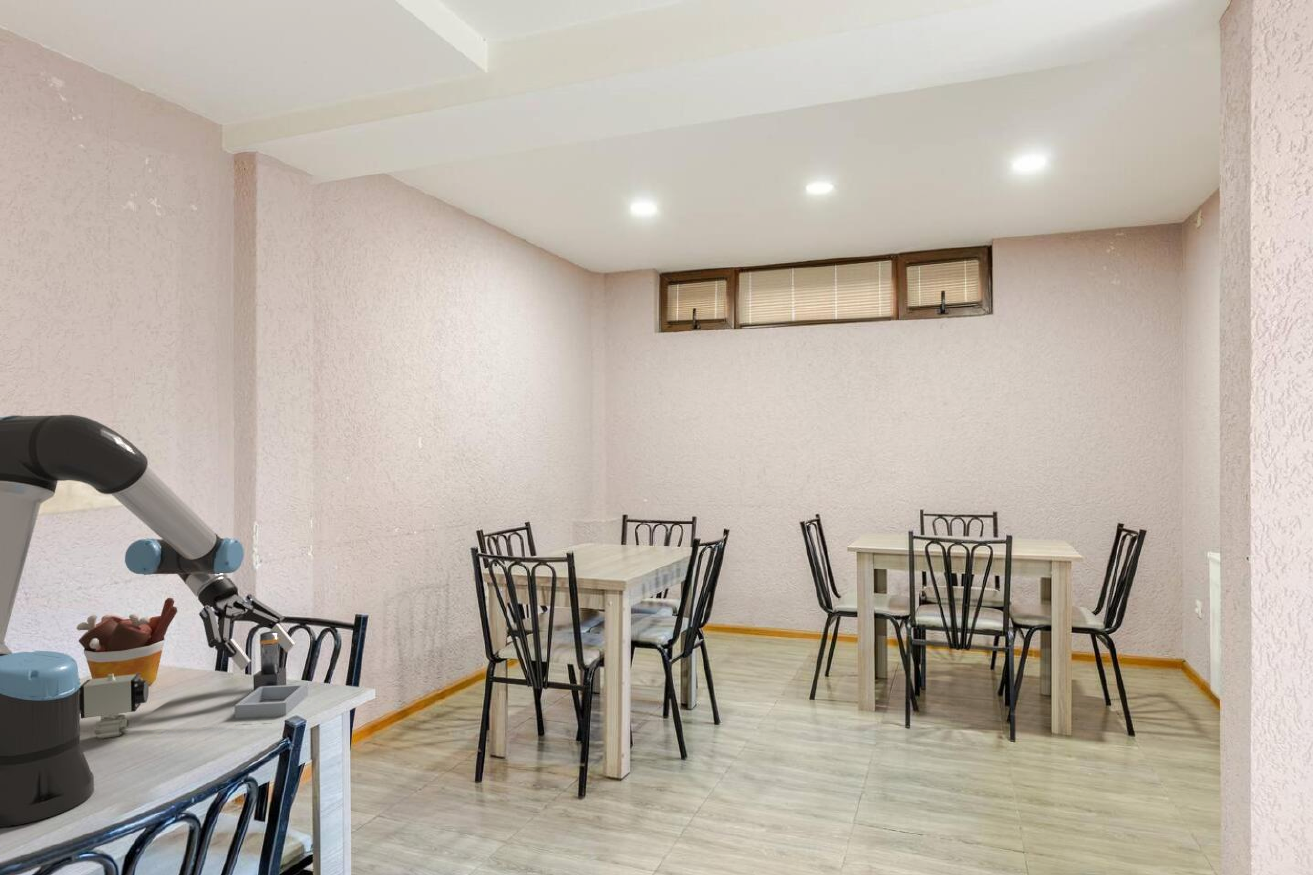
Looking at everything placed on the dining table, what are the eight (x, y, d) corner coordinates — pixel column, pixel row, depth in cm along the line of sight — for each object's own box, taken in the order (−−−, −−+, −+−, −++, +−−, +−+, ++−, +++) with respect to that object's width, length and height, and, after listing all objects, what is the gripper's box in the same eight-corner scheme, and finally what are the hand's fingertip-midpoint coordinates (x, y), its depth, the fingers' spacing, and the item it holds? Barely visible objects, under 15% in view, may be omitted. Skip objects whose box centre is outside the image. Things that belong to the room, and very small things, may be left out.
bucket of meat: (71, 704, 169) (70, 614, 169) (81, 684, 183) (80, 601, 183) (178, 687, 179) (176, 603, 179) (179, 670, 194) (178, 591, 194)
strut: (277, 694, 168) (276, 635, 168) (253, 695, 168) (252, 636, 168) (286, 687, 173) (285, 630, 173) (263, 688, 173) (262, 631, 173)
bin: (286, 722, 155) (285, 702, 155) (235, 725, 154) (234, 705, 154) (308, 702, 167) (307, 684, 167) (260, 704, 166) (260, 686, 166)
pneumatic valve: (144, 734, 150) (142, 673, 150) (71, 744, 146) (70, 681, 146) (150, 724, 156) (149, 665, 156) (81, 734, 151) (79, 673, 151)
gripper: (245, 587, 188) (298, 651, 184) (155, 610, 164) (215, 685, 160) (263, 566, 186) (317, 631, 183) (175, 587, 162) (235, 661, 159)
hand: (269, 656), depth 171 cm, fingers open, 13 cm apart
